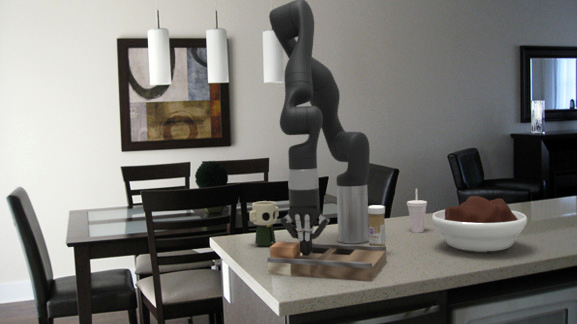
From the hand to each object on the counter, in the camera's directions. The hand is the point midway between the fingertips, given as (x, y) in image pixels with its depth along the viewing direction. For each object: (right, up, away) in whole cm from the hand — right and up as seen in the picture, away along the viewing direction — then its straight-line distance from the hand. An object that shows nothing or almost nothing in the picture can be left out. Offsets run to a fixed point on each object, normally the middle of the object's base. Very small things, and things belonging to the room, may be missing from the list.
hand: (306, 254), depth 145 cm
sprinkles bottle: (+20, -2, +13) cm, 24 cm away
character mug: (-11, -2, +30) cm, 32 cm away
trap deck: (+6, -4, +1) cm, 7 cm away
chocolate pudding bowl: (+48, -1, +15) cm, 51 cm away
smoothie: (+37, +1, +41) cm, 55 cm away
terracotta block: (-5, -1, +1) cm, 5 cm away
